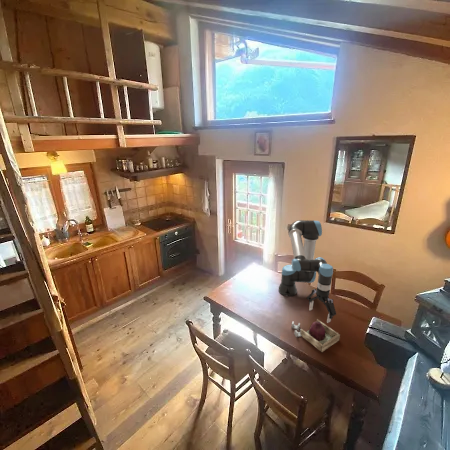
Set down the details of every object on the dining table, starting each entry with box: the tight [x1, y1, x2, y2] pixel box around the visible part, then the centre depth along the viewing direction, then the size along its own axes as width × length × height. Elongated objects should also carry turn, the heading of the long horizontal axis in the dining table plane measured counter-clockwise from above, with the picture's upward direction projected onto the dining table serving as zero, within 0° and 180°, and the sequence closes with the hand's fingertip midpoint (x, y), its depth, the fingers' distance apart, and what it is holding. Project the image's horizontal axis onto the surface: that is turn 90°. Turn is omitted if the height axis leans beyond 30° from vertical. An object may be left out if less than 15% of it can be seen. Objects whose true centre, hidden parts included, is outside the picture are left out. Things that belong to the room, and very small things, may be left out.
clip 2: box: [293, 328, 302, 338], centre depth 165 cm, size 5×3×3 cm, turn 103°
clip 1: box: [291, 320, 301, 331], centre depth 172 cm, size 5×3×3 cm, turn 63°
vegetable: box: [308, 320, 325, 341], centre depth 162 cm, size 10×10×15 cm
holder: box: [299, 318, 341, 353], centre depth 163 cm, size 17×17×4 cm
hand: (319, 315), depth 160 cm, fingers open, 13 cm apart
